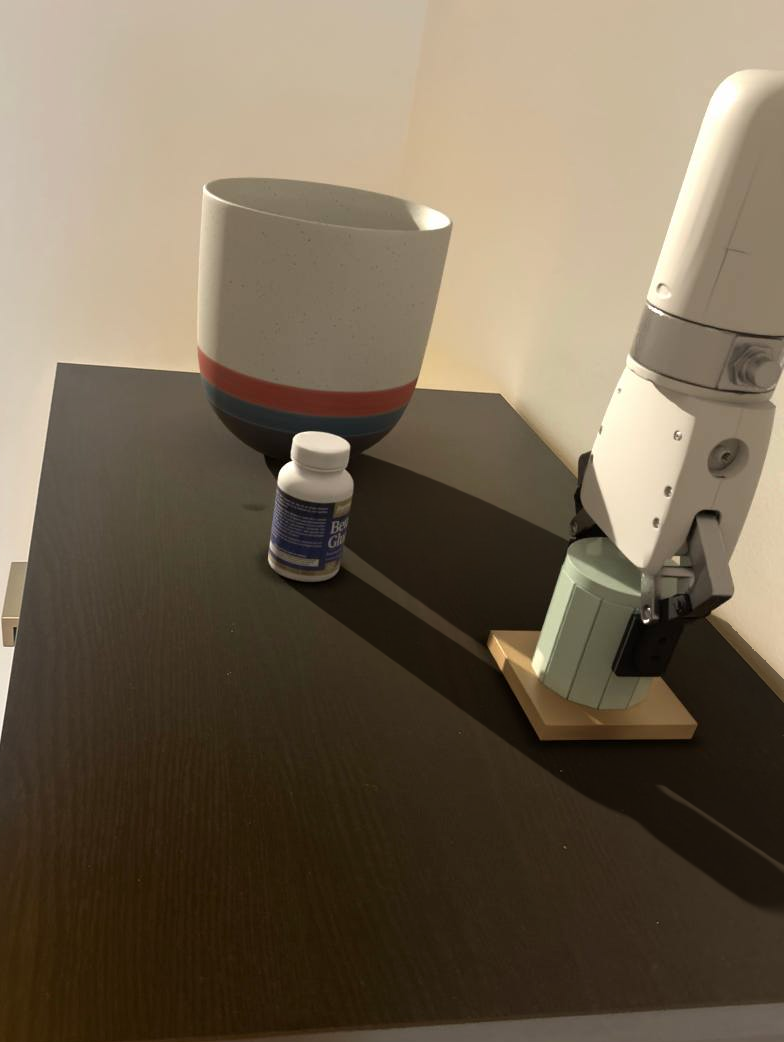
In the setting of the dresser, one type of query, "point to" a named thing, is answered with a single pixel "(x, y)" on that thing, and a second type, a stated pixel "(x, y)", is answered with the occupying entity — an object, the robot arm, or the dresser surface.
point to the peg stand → (577, 721)
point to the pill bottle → (311, 508)
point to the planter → (314, 308)
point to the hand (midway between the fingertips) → (605, 631)
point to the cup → (592, 626)
